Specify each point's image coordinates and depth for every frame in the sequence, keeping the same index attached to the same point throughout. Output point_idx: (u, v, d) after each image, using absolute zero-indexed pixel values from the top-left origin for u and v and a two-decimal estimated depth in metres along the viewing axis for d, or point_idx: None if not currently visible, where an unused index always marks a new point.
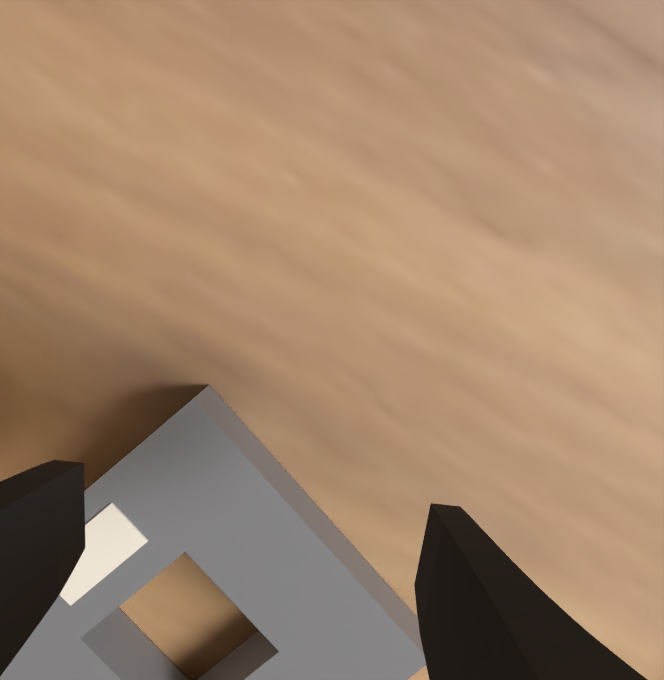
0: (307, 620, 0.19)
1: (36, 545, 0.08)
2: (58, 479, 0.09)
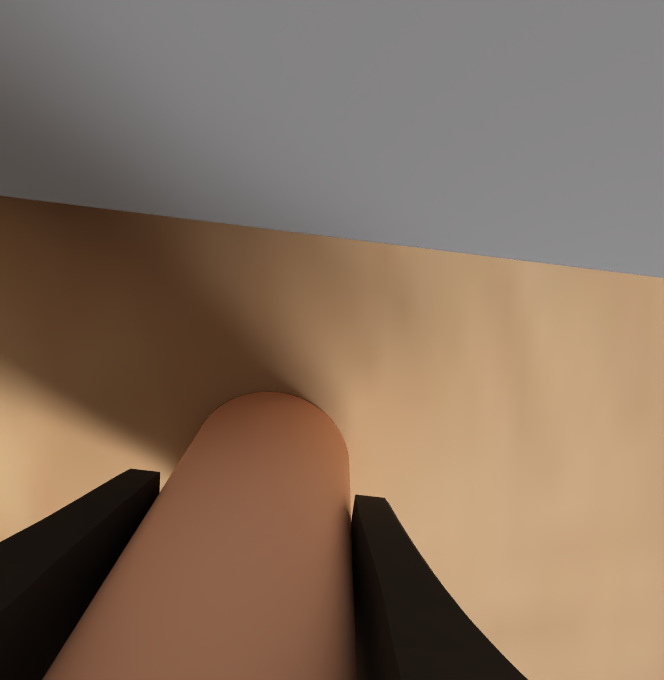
0: None
1: None
2: (142, 489, 0.09)
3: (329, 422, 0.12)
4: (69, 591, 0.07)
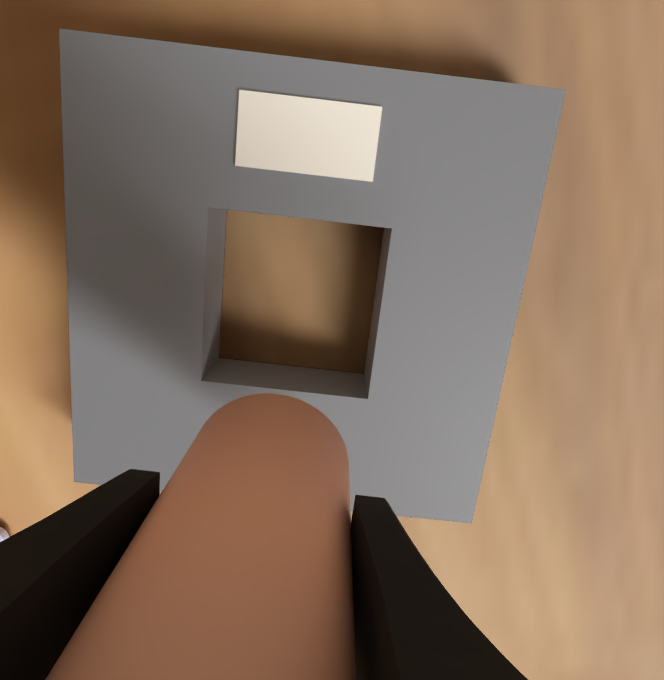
0: (420, 397, 0.16)
1: None
2: (142, 489, 0.09)
3: (329, 424, 0.12)
4: (69, 591, 0.07)
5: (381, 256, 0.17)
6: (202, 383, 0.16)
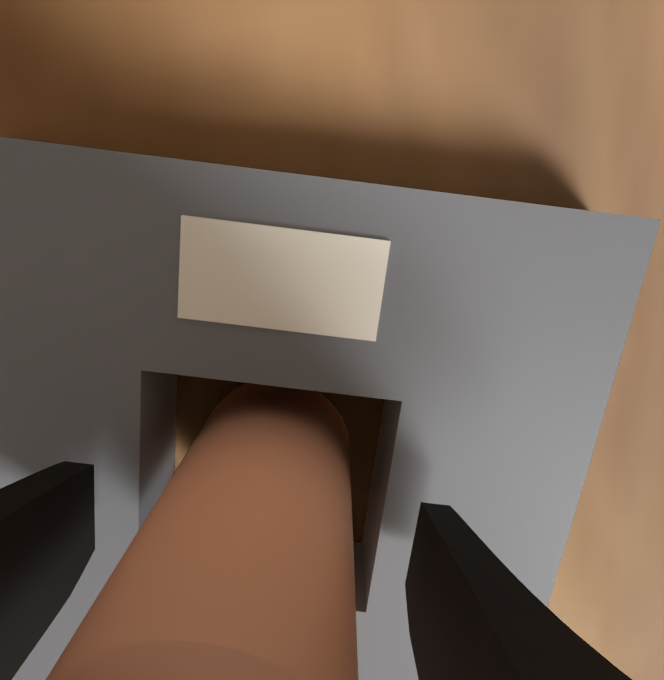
0: None
1: (48, 546, 0.08)
2: (69, 480, 0.09)
3: (331, 406, 0.13)
4: None
5: (386, 408, 0.12)
6: None
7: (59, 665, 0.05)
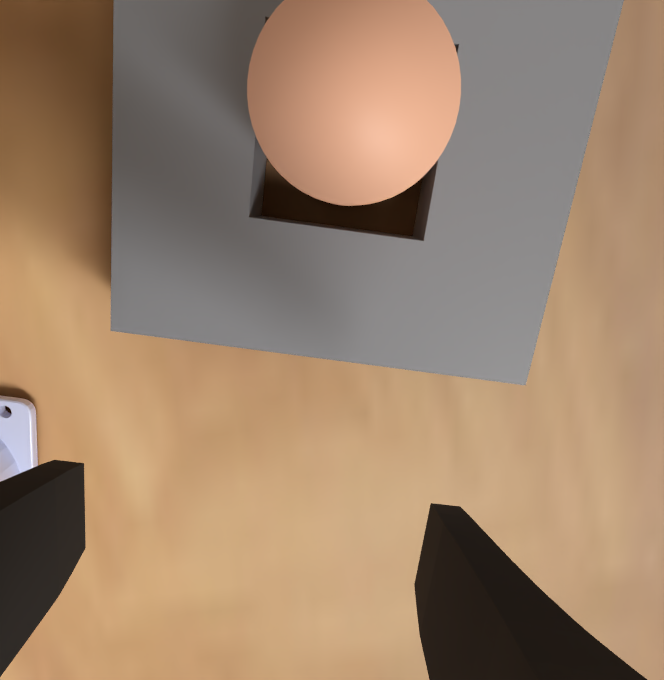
0: (479, 239, 0.15)
1: (36, 545, 0.08)
2: (58, 479, 0.09)
3: None
4: None
5: None
6: (250, 220, 0.15)
7: (278, 12, 0.09)
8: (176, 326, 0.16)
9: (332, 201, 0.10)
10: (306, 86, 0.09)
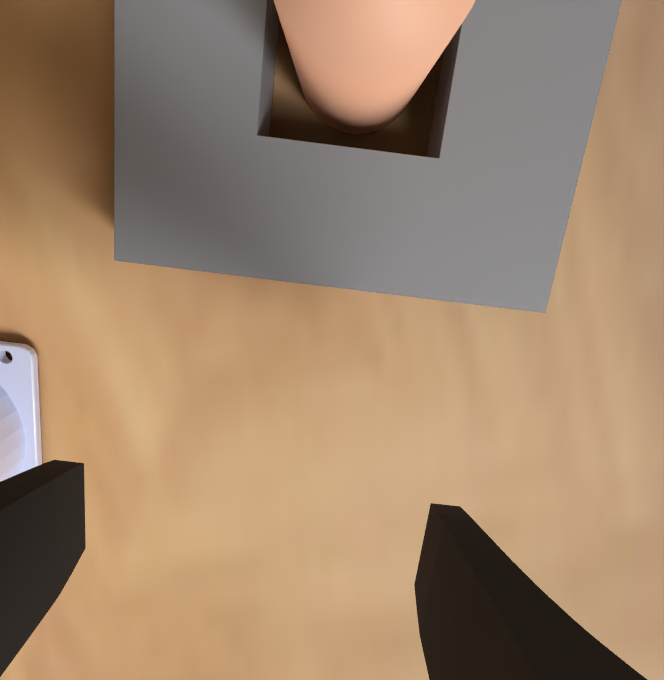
0: (496, 156, 0.14)
1: (36, 545, 0.08)
2: (58, 479, 0.09)
3: None
4: None
5: None
6: (258, 138, 0.14)
7: None
8: (182, 254, 0.15)
9: (353, 67, 0.09)
10: None
